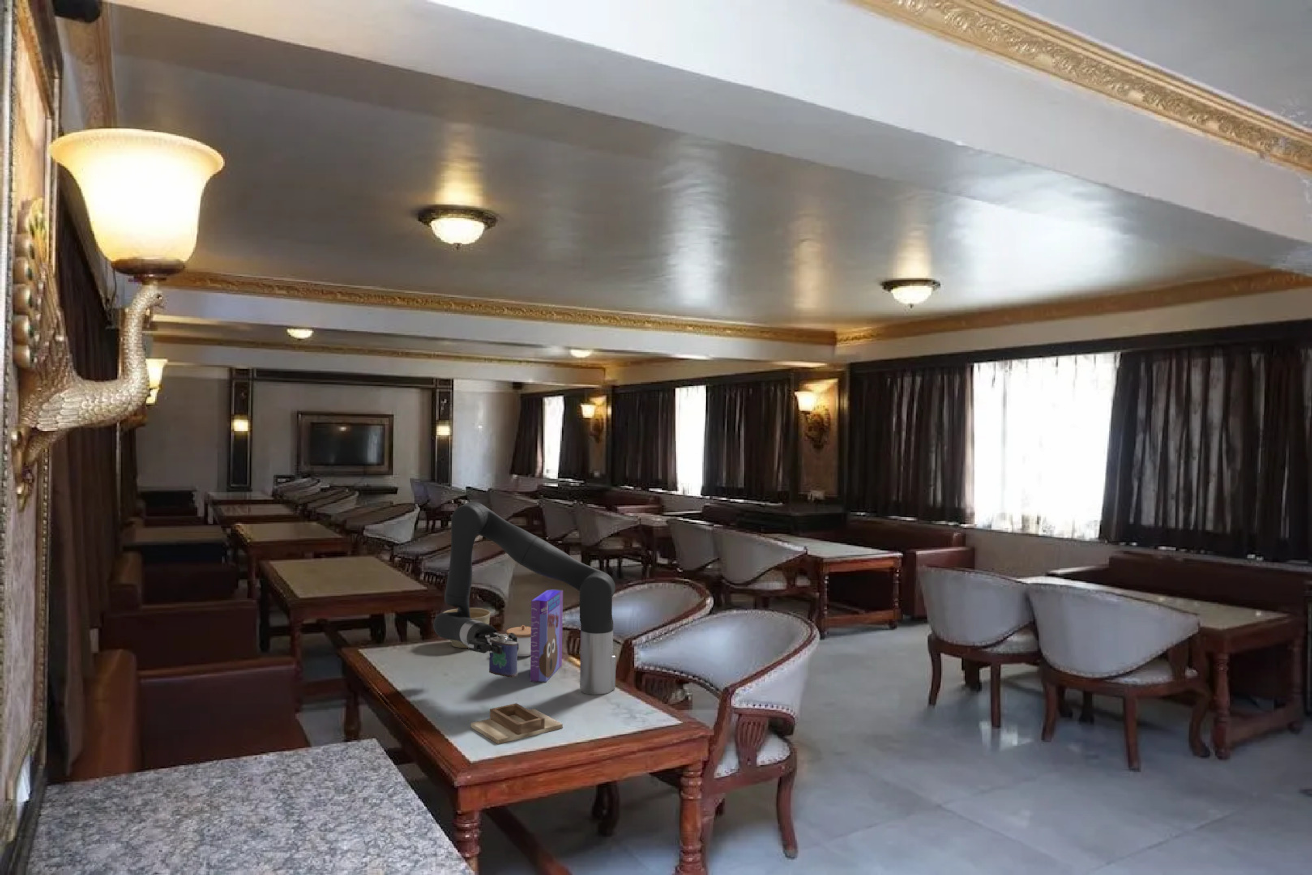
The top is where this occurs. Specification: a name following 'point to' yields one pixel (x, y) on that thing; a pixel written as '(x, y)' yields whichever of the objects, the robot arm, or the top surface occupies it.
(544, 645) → the cereal box
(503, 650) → the flask
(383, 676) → the top surface
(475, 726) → the slot board
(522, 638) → the lidded jar
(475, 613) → the planter bowl
